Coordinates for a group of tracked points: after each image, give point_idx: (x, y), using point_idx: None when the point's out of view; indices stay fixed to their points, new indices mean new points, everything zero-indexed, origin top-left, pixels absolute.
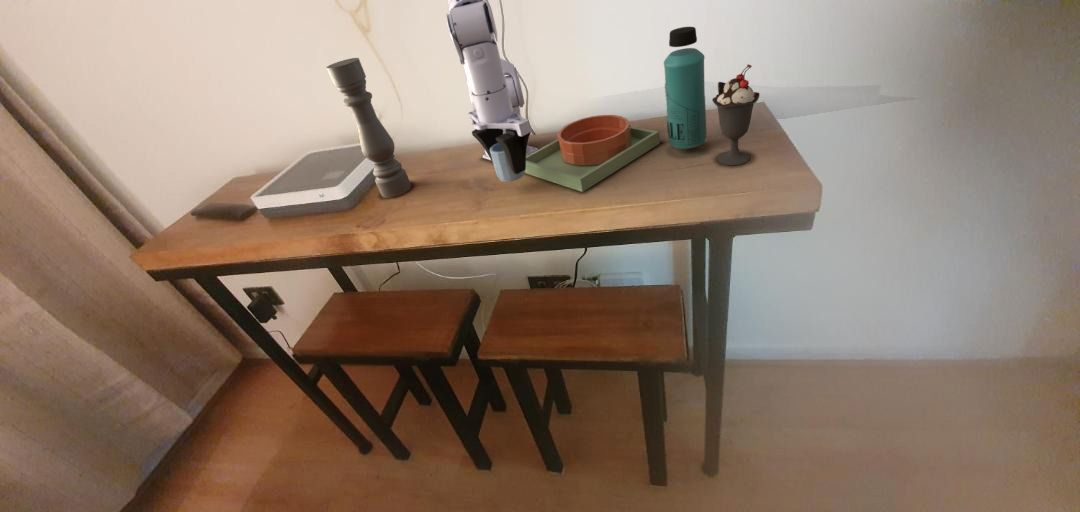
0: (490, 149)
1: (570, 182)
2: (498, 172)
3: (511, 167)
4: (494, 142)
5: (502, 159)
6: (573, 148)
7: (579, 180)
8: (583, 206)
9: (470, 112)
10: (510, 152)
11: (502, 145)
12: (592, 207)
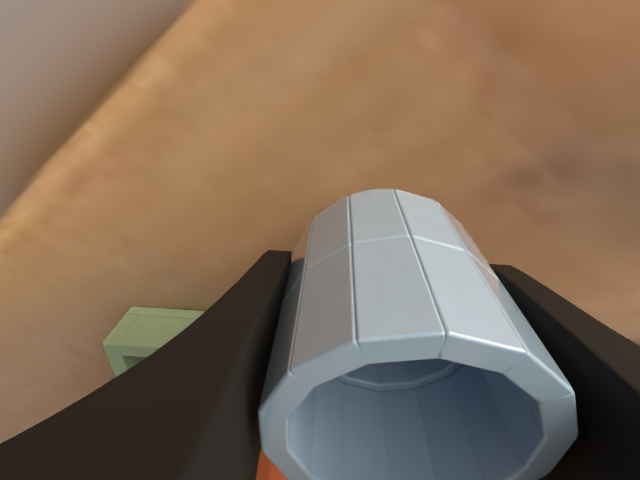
0: (537, 371)
1: (174, 326)
2: (395, 209)
3: (278, 270)
4: (584, 470)
5: (325, 296)
6: (264, 468)
7: (110, 338)
8: (36, 243)
9: None
10: (115, 378)
11: (119, 469)
12: (7, 250)
